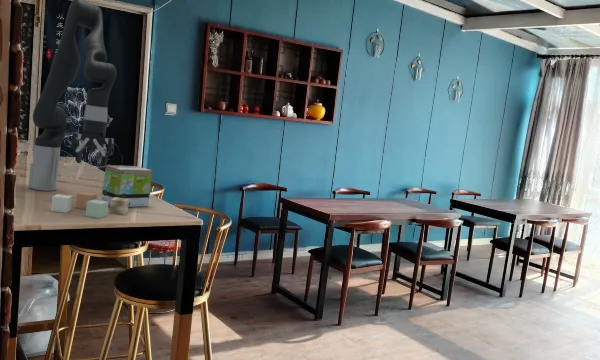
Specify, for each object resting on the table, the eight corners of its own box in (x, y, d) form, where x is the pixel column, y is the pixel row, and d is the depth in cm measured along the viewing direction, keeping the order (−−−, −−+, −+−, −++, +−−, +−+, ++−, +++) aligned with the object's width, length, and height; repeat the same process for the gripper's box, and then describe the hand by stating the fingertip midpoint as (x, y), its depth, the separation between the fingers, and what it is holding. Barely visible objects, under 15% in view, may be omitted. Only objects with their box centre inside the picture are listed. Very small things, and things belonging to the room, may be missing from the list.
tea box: (117, 208, 191) (122, 169, 189) (100, 203, 196) (104, 164, 194) (149, 206, 204) (153, 169, 202) (132, 201, 209) (136, 165, 207)
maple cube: (109, 213, 182) (111, 199, 182) (113, 210, 187) (115, 197, 187) (123, 215, 183) (125, 201, 182) (127, 212, 188) (129, 199, 187)
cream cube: (51, 211, 172) (52, 196, 171) (55, 208, 177) (57, 194, 176) (66, 213, 173) (68, 198, 172) (71, 210, 178) (72, 195, 177)
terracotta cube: (75, 207, 182) (76, 193, 182) (81, 205, 187) (83, 192, 187) (89, 209, 182) (91, 196, 182) (95, 207, 187) (96, 194, 187)
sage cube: (85, 215, 173) (86, 201, 172) (93, 213, 178) (95, 199, 177) (99, 218, 172) (100, 203, 172) (106, 216, 177) (108, 201, 176)
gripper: (70, 116, 178) (65, 162, 179) (111, 122, 178) (106, 168, 180) (80, 116, 185) (75, 161, 187) (119, 122, 185) (114, 166, 187)
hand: (90, 164), depth 183 cm, fingers open, 8 cm apart
